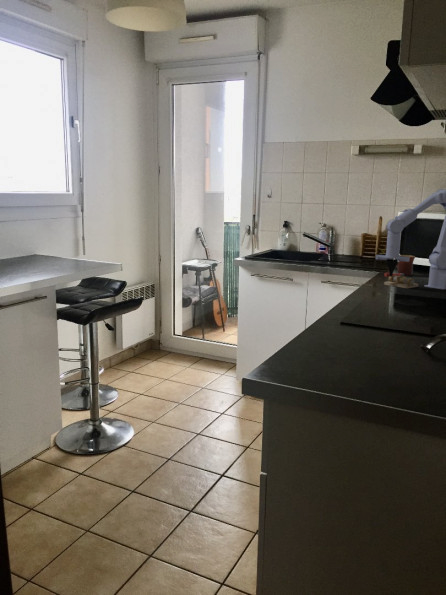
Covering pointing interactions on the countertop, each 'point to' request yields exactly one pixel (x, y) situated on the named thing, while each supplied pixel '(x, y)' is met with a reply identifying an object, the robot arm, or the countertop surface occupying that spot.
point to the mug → (406, 266)
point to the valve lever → (393, 274)
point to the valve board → (401, 282)
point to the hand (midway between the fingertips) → (390, 276)
